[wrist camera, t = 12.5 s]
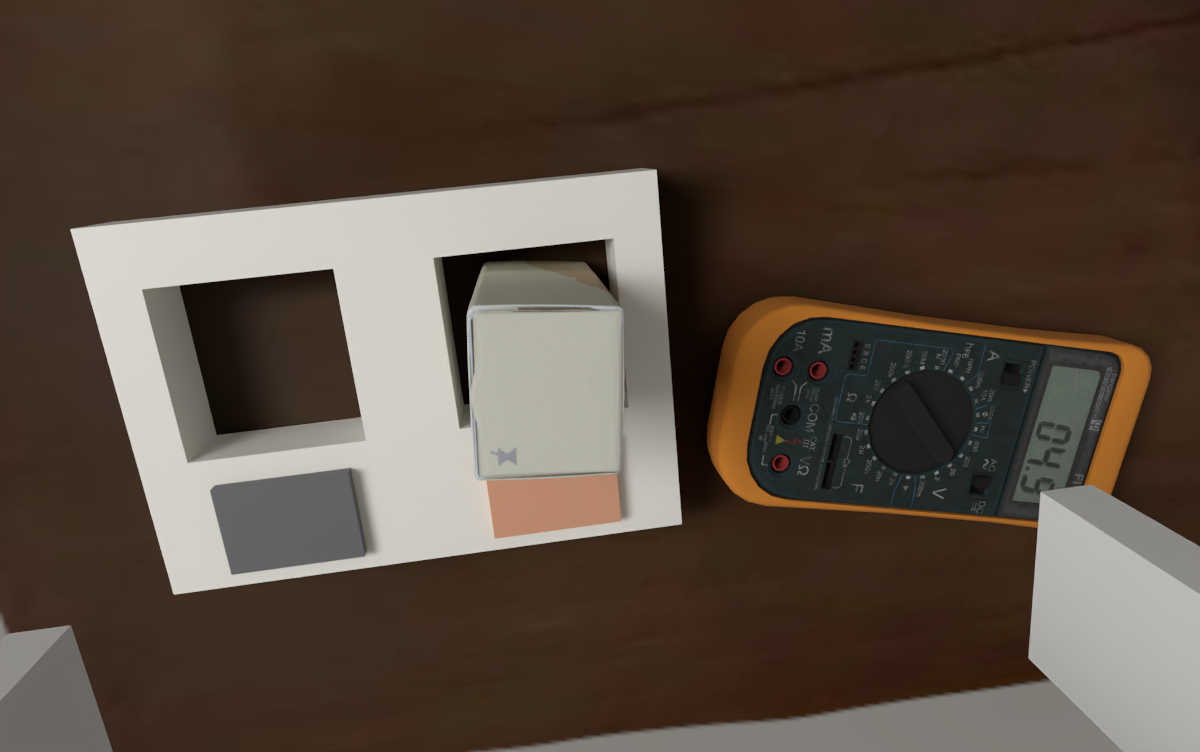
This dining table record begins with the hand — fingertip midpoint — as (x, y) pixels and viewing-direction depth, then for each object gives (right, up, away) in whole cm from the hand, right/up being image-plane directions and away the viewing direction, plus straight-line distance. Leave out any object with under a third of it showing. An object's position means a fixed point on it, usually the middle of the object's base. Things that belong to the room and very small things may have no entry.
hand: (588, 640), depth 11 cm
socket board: (-7, +4, +21) cm, 23 cm away
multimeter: (+14, +2, +25) cm, 28 cm away
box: (-3, +6, +21) cm, 22 cm away
